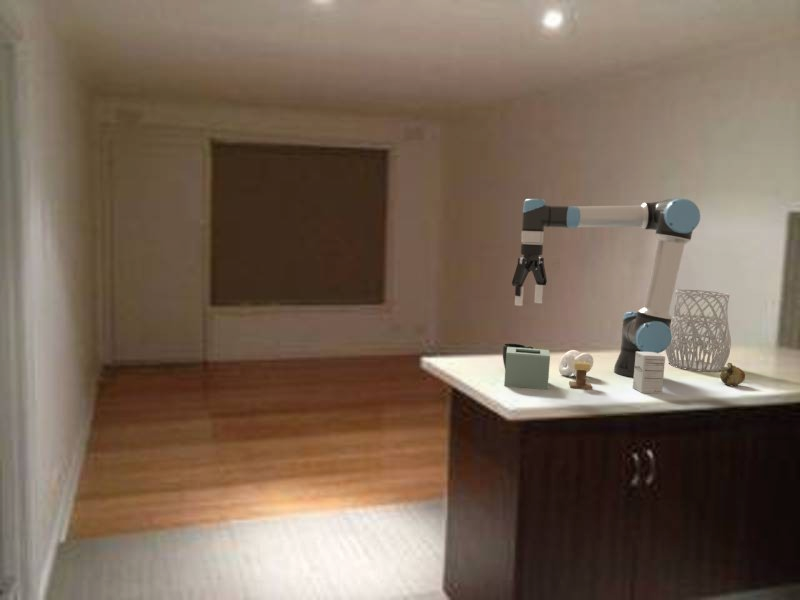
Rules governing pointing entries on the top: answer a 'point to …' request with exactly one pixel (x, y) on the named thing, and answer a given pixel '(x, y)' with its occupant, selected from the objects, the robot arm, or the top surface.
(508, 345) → the mug
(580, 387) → the token stand
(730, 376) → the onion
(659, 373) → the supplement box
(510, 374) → the box
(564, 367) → the white knot sculpture
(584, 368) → the panel
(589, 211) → the robot arm
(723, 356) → the vase
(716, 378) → the top surface
